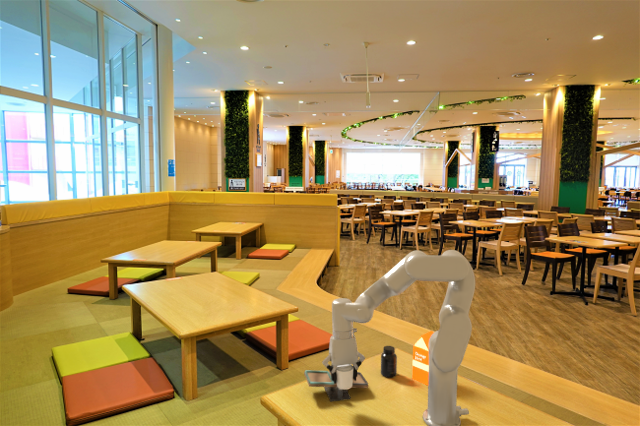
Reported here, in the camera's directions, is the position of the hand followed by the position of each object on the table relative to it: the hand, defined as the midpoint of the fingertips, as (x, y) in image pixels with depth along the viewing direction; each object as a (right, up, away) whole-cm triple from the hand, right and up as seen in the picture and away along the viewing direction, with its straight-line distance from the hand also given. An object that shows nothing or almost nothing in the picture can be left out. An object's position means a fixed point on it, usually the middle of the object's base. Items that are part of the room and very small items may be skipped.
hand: (344, 380), depth 141 cm
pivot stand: (-3, -10, +13) cm, 16 cm away
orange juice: (+36, -10, +23) cm, 44 cm away
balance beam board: (-3, -5, +13) cm, 14 cm away
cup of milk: (0, -2, 0) cm, 2 cm away
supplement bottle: (+21, -9, +26) cm, 35 cm away
